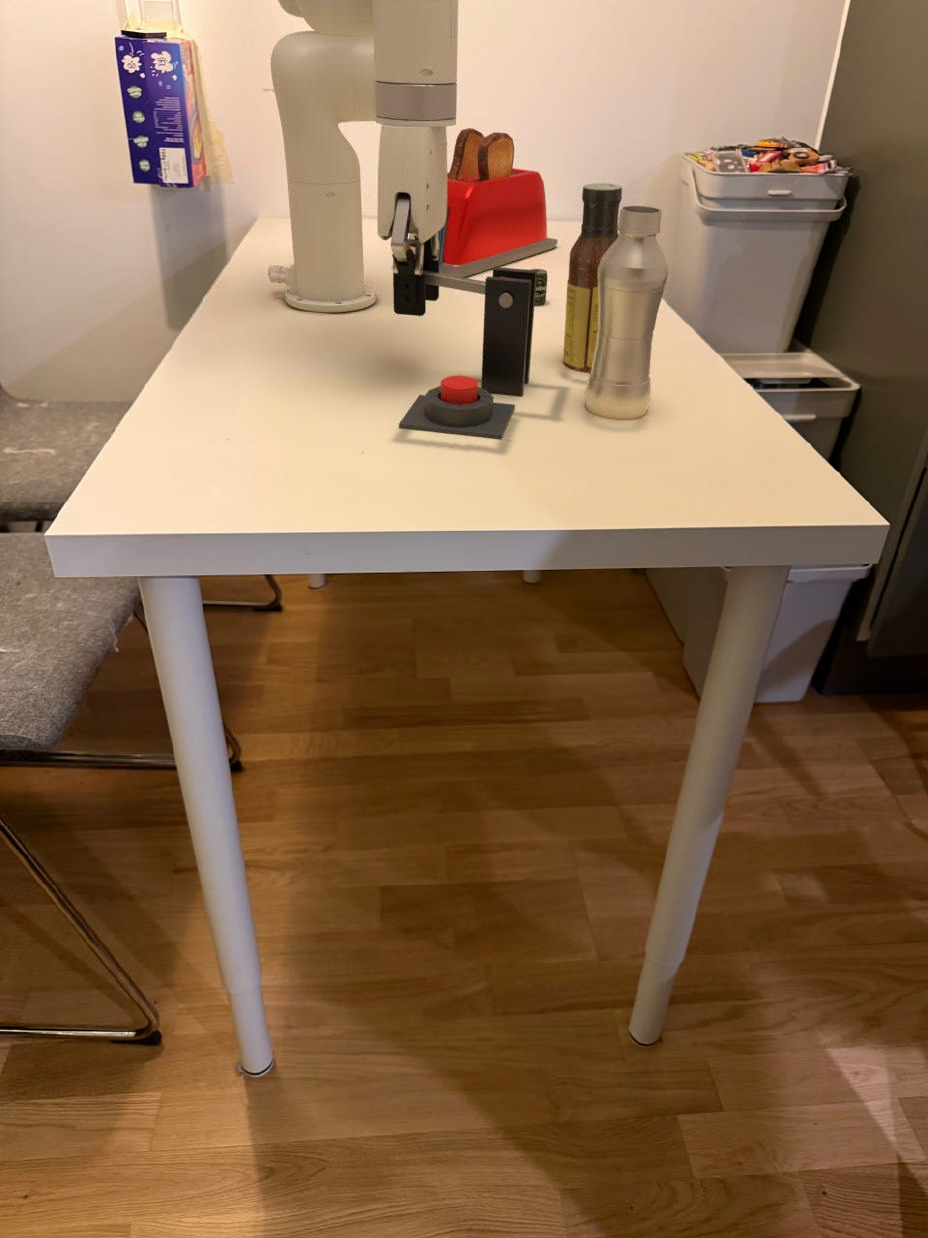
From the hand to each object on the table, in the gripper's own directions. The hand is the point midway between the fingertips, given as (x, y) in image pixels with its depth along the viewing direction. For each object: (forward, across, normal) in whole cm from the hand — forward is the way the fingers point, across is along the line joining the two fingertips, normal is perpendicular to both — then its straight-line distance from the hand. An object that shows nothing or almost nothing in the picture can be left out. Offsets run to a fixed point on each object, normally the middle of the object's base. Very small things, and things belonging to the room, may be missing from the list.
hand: (416, 304), depth 91 cm
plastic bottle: (+9, +3, +22) cm, 24 cm away
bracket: (+9, 0, +10) cm, 13 cm away
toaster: (+9, -63, -5) cm, 64 cm away
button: (+6, +10, +7) cm, 13 cm away
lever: (-1, 0, +5) cm, 5 cm away
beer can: (+9, -38, +8) cm, 40 cm away
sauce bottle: (+9, -10, +18) cm, 22 cm away
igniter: (+9, +10, +7) cm, 15 cm away
